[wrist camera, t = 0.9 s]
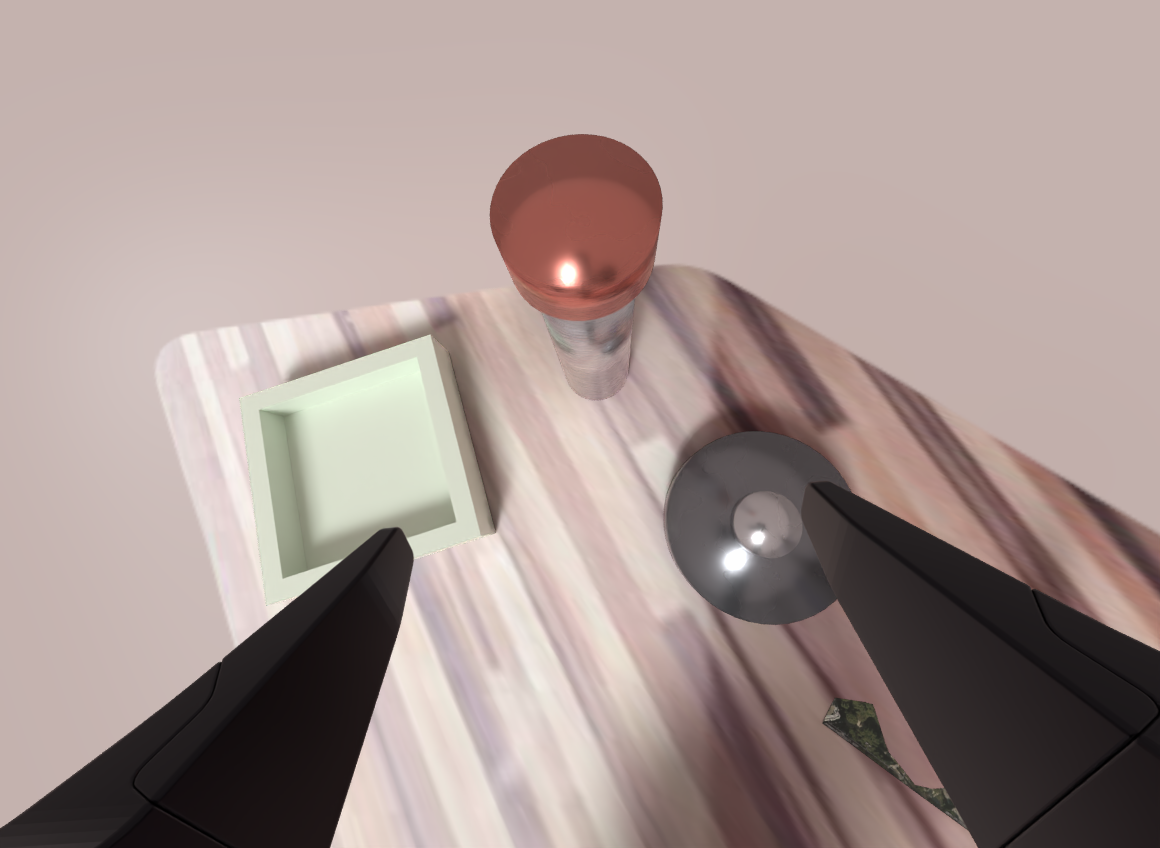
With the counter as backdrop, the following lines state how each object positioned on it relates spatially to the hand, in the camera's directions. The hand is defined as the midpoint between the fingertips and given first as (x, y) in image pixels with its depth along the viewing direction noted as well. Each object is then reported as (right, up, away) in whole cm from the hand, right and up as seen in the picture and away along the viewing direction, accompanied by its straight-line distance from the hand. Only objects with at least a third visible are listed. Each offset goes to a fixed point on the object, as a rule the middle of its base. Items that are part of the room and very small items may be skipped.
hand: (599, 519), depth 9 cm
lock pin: (+1, +5, +14) cm, 15 cm away
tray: (-12, 0, +14) cm, 19 cm away
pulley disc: (+8, -3, +12) cm, 15 cm away
